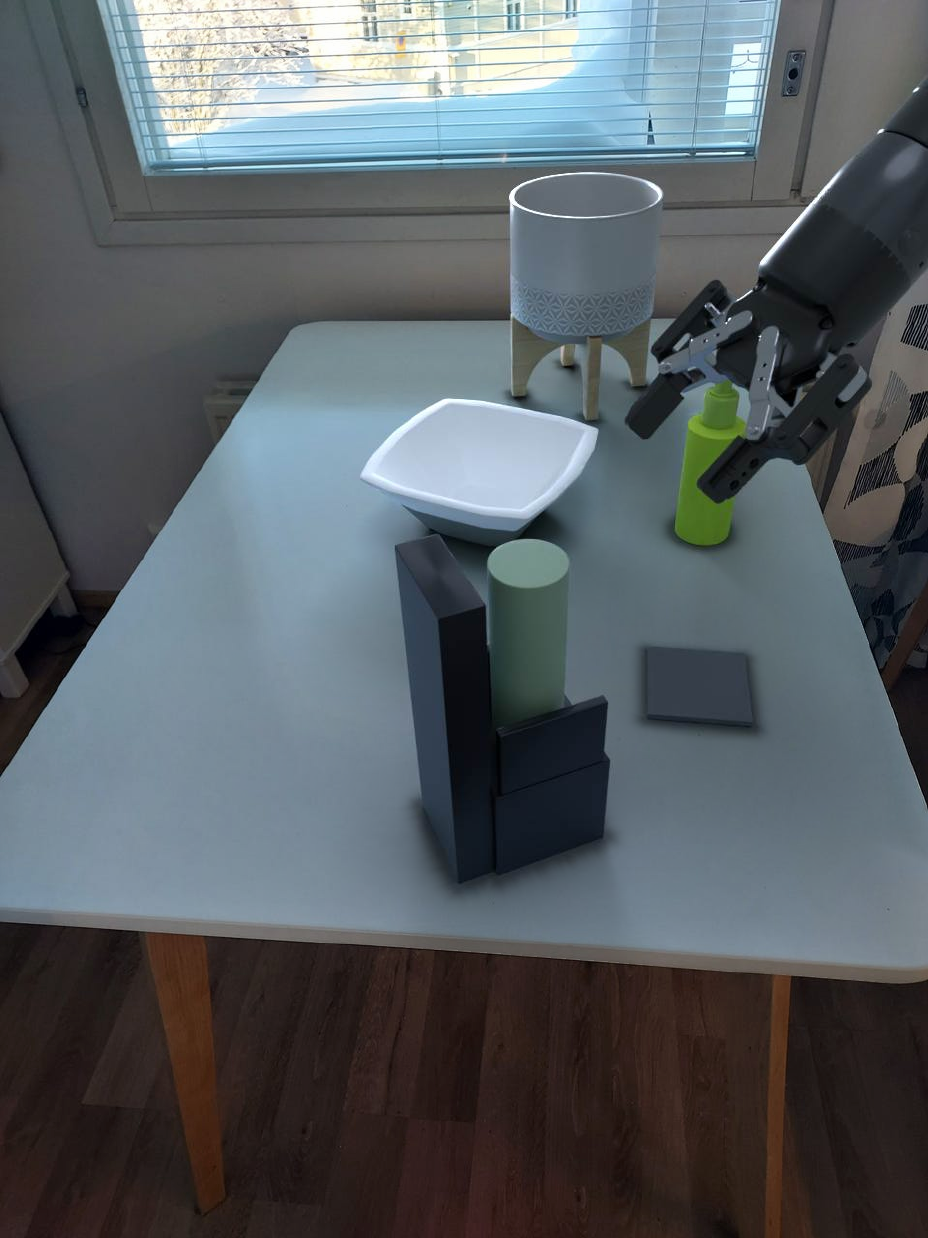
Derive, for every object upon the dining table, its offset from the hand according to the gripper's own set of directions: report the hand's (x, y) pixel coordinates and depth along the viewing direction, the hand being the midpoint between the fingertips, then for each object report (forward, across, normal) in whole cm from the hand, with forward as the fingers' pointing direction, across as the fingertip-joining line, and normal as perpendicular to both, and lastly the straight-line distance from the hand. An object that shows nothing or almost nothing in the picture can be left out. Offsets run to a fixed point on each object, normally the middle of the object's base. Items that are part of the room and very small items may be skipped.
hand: (667, 461), depth 58 cm
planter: (+1, +65, -41) cm, 77 cm away
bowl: (+18, +41, -24) cm, 51 cm away
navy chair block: (+29, 0, -13) cm, 32 cm away
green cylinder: (+21, 0, -8) cm, 23 cm away
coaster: (+14, +7, -29) cm, 32 cm away
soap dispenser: (+4, +28, -39) cm, 48 cm away
